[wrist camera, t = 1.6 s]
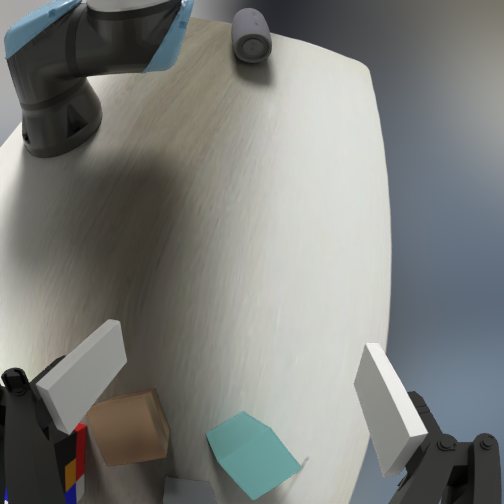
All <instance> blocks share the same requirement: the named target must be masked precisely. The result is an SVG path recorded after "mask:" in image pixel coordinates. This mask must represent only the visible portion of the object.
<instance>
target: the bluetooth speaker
mask: <svg viewBox="0 0 504 504" xmlns="http://www.w3.org/2000/svg"><path fill="white" fill-rule="evenodd" d="M232 42H233V48H234V51H235V54H236V55H237V57H238V58H239V59H241V60H242V61H245V62H250V63H257V62H261V61H263V60H265V59H266V58H267V57H268V56H269V55H270V53H271V50H272V41H271V36H270V32H269V28H268V26H267V23H266V21H265V19H264V17H263V15H262V14H261V13H260V12H259V11H257V10H255V9H252V8H246V9H242V10H240V11H239V12H237V14H236V15H235V17H234V19H233V24H232Z"/></svg>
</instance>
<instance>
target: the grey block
mask: <svg viewBox="0 0 504 504" xmlns="http://www.w3.org/2000/svg"><path fill="white" fill-rule="evenodd" d="M163 504H217V502H216V499H215V496H214V493H213V490H212V487H211V484H210V482H205V481H195V480H187V479H179V478H173V477H167V476H165V484H164V495H163Z"/></svg>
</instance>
